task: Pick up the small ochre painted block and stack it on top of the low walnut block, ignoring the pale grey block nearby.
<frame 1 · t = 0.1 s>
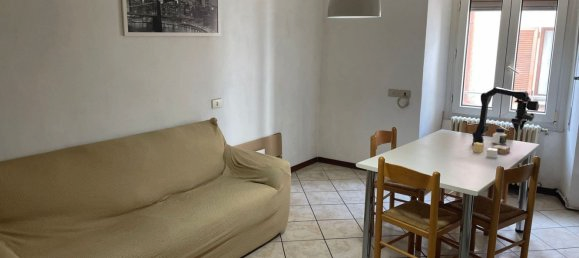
hand: (519, 131, 325), 15 cm above the table, fingers open, 9 cm apart
medicine bottle: (499, 143, 351), on the table
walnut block: (500, 152, 325), on the table
ochre block: (477, 151, 326), on the table
grey block: (491, 156, 314), on the table
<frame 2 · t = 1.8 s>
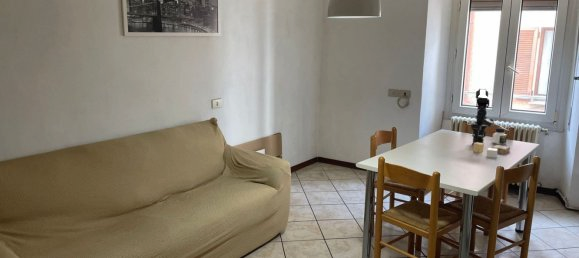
hand: (479, 136, 324), 11 cm above the table, fingers open, 9 cm apart
nothing on the table moved.
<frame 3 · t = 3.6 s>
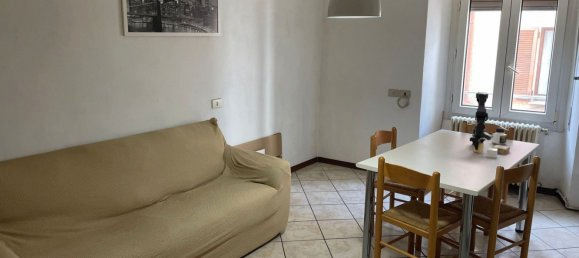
hand: (478, 149, 326), 1 cm above the table, fingers closed on ochre block, 5 cm apart
ochre block: (477, 151, 326), on the table, touching gripper
everything else where it was.
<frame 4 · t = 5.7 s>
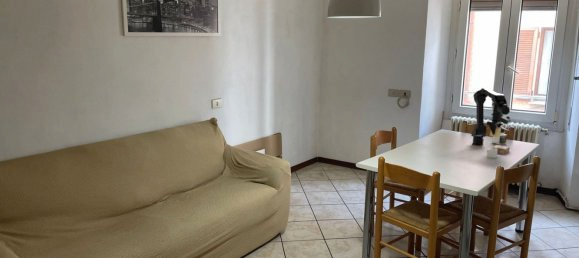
hand: (495, 134, 323), 13 cm above the table, fingers closed on ochre block, 5 cm apart
ochre block: (494, 136, 323), point 11 cm above the table, touching gripper
everything else where it was.
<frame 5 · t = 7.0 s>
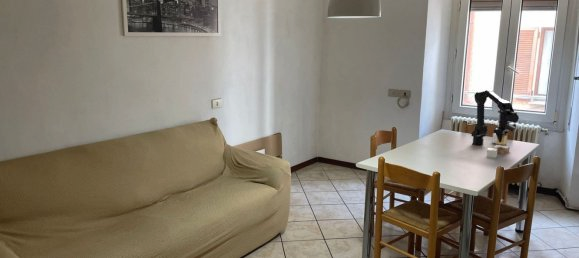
hand: (501, 141, 324), 8 cm above the table, fingers closed on ochre block, 5 cm apart
ochre block: (501, 143, 324), point 6 cm above the table, touching gripper
everything else where it was.
when the fingers open (6 cm above the table, at t = 8.0 s): ochre block drops 1 cm, resting on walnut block.
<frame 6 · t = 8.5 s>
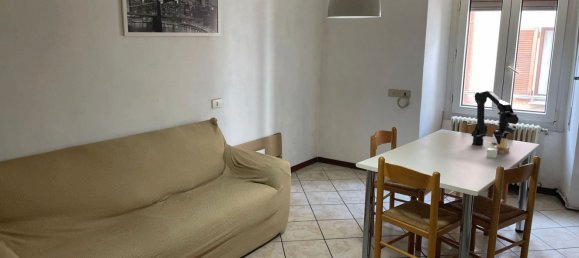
hand: (501, 143, 324), 6 cm above the table, fingers open, 9 cm apart
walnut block: (500, 152, 325), on the table, touching ochre block
ochre block: (501, 147, 324), point 4 cm above the table, touching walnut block
everything else where it was.
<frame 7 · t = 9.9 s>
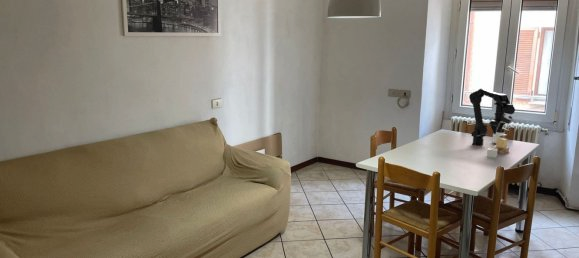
hand: (497, 133, 328), 12 cm above the table, fingers open, 9 cm apart
nothing on the table moved.
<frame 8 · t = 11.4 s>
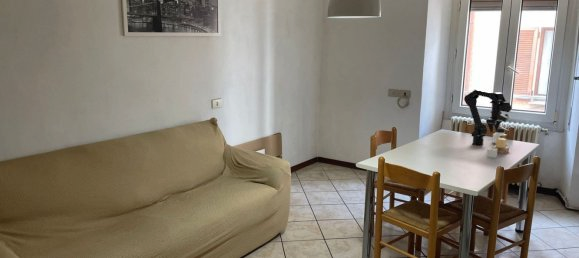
hand: (494, 131, 332), 13 cm above the table, fingers open, 9 cm apart
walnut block: (500, 152, 325), on the table
ochre block: (500, 147, 324), point 4 cm above the table
everything else where it was.
at the end: ochre block 0.1 cm off-centre on the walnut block, point 4.0 cm above the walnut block's base; ochre block tilted 0°; the gripper is holding nothing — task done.
